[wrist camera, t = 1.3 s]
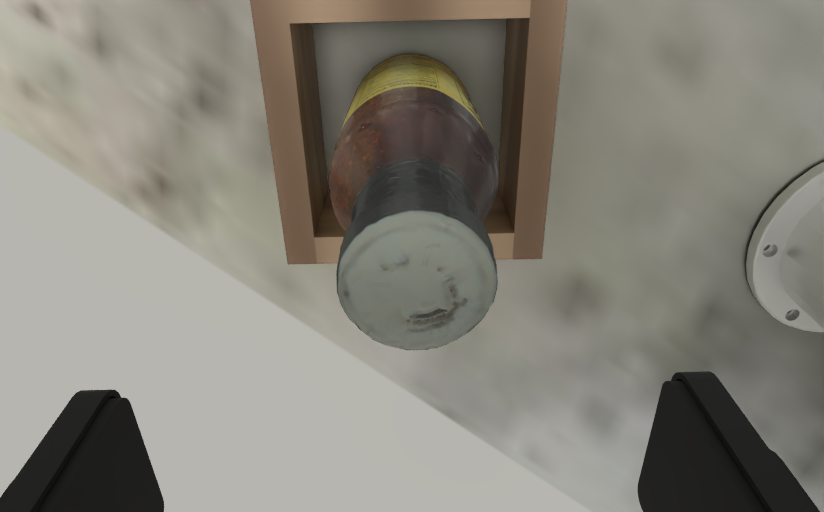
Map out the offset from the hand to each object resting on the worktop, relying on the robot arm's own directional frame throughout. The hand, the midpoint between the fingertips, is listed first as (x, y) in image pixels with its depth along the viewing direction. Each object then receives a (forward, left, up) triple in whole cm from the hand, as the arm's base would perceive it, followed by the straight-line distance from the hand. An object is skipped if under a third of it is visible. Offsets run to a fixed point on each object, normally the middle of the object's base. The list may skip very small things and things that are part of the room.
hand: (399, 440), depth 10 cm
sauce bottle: (0, 0, -25) cm, 25 cm away
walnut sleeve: (0, 0, -24) cm, 24 cm away
